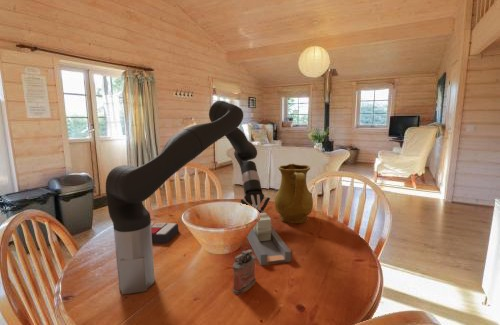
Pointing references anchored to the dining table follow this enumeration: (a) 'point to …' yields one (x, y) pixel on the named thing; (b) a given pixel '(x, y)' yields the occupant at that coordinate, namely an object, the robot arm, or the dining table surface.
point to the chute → (269, 249)
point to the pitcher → (293, 194)
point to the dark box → (163, 232)
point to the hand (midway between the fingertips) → (258, 220)
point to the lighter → (244, 272)
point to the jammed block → (263, 228)
